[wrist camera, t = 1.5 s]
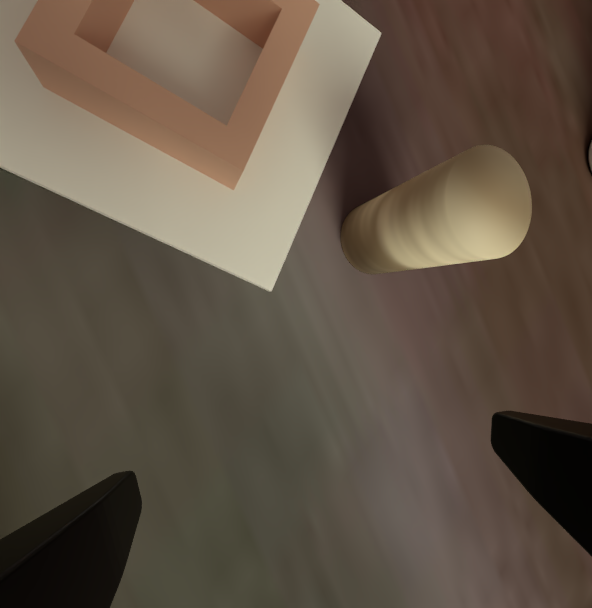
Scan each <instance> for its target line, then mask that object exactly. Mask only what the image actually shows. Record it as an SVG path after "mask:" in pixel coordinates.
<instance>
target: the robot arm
mask: <svg viewBox="0 0 592 608" xmlns="http://www.w3.org/2000/svg"><path fill="white" fill-rule="evenodd" d="M491 444H492V447H493V449H494V451H495V453H496V454H497V455H498V456H499V458H500V459H501V460H502V461H503V462H504V463H505V465H506V466H507V467H508V468H509V469H510V471H511V472H512V473H513V474H514V475H515V477H516V478H517V479H518V480H519V481H520V483H521V484H522V485H523V486H524V487H525V489H526V490H527V491H528V492H529V493H530V494H531V495H532V497H533V498H534V499H535V500H536V501H537V502H538V503H539V504H540V505H541V506H542V507H543V508H544V509H545V510H546V511H547V512H548V513H549V514H550V515H551V516H552V517H553V518H554V519H555V520H556V521H557V522H558V523H559V524H560V525H561V526H562V527H563V528H564V529H565V530H566V531H567V532H568V533H569V534H570V535H571V536H572V537H573V538H574V539H575V540H576V541H577V542H578V543H579V544H580V545H581V546H582V547H583V548H584V549H585V550H586V551H587V552H588V553H589V554H590V555H591V556H592V424H590V423H584V422H577V421H571V420H565V419H559V418H552V417H546V416H540V415H534V414H527V413H521V412H515V411H502V412H496V413H494V414H493V416H492V426H491ZM141 509H142V500H141V495H140V491H139V487H138V483H137V479H136V475H135V473H134V472H133V471H125V472H119V473H115V474H113V475H111V476H110V477H108V478H106V479H104V480H103V481H101V482H99V483H97V484H96V485H94V486H92V487H90V488H89V489H87V490H85V491H84V492H82V493H80V494H78V495H77V496H75V497H73V498H71V499H70V500H68V501H66V502H64V503H63V504H61V505H59V506H58V507H56V508H54V509H52V510H51V511H49V512H47V513H45V514H44V515H42V516H40V517H39V518H37V519H35V520H33V521H32V522H30V523H28V524H26V525H25V526H23V527H21V528H19V529H18V530H16V531H14V532H13V533H11V534H9V535H7V536H6V537H4V538H2V539H0V608H110V606H111V603H112V601H113V598H114V596H115V593H116V591H117V588H118V586H119V583H120V581H121V578H122V575H123V572H124V569H125V566H126V563H127V559H128V556H129V552H130V549H131V545H132V542H133V538H134V535H135V531H136V528H137V524H138V521H139V517H140V514H141Z"/></svg>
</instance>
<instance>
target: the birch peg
mask: <svg viewBox="0 0 592 608" xmlns="http://www.w3.org/2000/svg"><path fill="white" fill-rule="evenodd" d="M531 211H532V201H531V193H530V188H529V185H528V182H527V179H526V177H525V174H524V172H523V170H522V169H521V167H520V166H519V164H518V163H517V162H516V160H515V159H514V158H513V157H512V156H511V155H510V154H508V153H507V152H506V151H504V150H502V149H500V148H498V147H495V146H492V145H479V146H475V147H473V148H470V149H468V150H466V151H464V152H462V153H461V154H459V155H457V156H455V157H453V158H451V159H449V160H447V161H445V162H443V163H441V164H439V165H437V166H435V167H433V168H432V169H430V170H428V171H426V172H424V173H422V174H420V175H418V176H416V177H414V178H412V179H410V180H408V181H406V182H404V183H403V184H401V185H399V186H397V187H395V188H393V189H391V190H389V191H387V192H385V193H383V194H381V195H379V196H377V197H376V198H374V199H372V200H370V201H368V202H366V203H364V204H362V205H360V206H358V207H356V208H355V209H353V210H352V211H351V212H350V213H349V214H348V215H347V217H346V218H345V220H344V222H343V225H342V229H341V246H342V249H343V252H344V255H345V256H346V258H347V260H348V261H349V263H350V264H351V265H352V266H353V267H355V268H356V269H357V270H359V271H361V272H363V273H367V274H381V273H388V272H396V271H404V270H412V269H419V268H427V267H435V266H443V265H450V264H458V263H466V262H473V261H481V260H489V259H496V258H501V257H504V256H506V255H508V254H510V253H511V252H513V251H514V250H515V249H516V248H517V247H518V246H519V245H520V243H521V242H522V241H523V239H524V237H525V235H526V233H527V230H528V228H529V224H530V220H531Z"/></svg>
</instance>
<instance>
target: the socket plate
mask: <svg viewBox="0 0 592 608" xmlns="http://www.w3.org/2000/svg"><path fill="white" fill-rule="evenodd" d="M380 36H381V32H380V31H378V30H377V29H376V28H375V27H373V26H372V25H371V24H370V23H368V22H367V21H366V20H365V19H364V18H362V17H361V16H360V15H359V14H357V13H356V12H355V11H354V10H352V9H351V8H350V7H349V6H347V5H346V4H345V3H344V2H343V1H341V0H0V168H2V169H4V170H6V171H8V172H11V173H13V174H15V175H17V176H19V177H22V178H24V179H26V180H28V181H30V182H32V183H35V184H37V185H39V186H41V187H43V188H45V189H48V190H50V191H52V192H54V193H56V194H58V195H61V196H63V197H65V198H67V199H69V200H71V201H74V202H76V203H78V204H80V205H82V206H84V207H87V208H89V209H91V210H93V211H95V212H98V213H100V214H102V215H104V216H106V217H108V218H111V219H113V220H115V221H117V222H119V223H121V224H124V225H126V226H128V227H130V228H132V229H134V230H137V231H139V232H141V233H143V234H145V235H147V236H150V237H152V238H154V239H156V240H158V241H160V242H163V243H165V244H167V245H169V246H171V247H174V248H176V249H178V250H180V251H182V252H184V253H187V254H189V255H191V256H193V257H195V258H197V259H200V260H202V261H204V262H206V263H208V264H210V265H213V266H215V267H217V268H219V269H221V270H223V271H226V272H228V273H230V274H232V275H234V276H236V277H239V278H241V279H243V280H245V281H247V282H250V283H252V284H254V285H256V286H258V287H260V288H263V289H265V290H267V291H272V289H273V287H274V284H275V282H276V280H277V277H278V275H279V273H280V270H281V268H282V266H283V263H284V261H285V259H286V256H287V254H288V251H289V249H290V247H291V244H292V242H293V240H294V237H295V235H296V233H297V230H298V228H299V226H300V223H301V221H302V219H303V216H304V214H305V212H306V209H307V207H308V205H309V202H310V200H311V198H312V195H313V193H314V190H315V188H316V186H317V183H318V181H319V179H320V176H321V174H322V172H323V169H324V167H325V165H326V162H327V160H328V158H329V155H330V153H331V151H332V148H333V146H334V144H335V141H336V139H337V136H338V134H339V132H340V129H341V127H342V125H343V122H344V120H345V118H346V115H347V113H348V111H349V108H350V106H351V104H352V101H353V99H354V97H355V94H356V92H357V90H358V87H359V85H360V82H361V80H362V78H363V75H364V73H365V71H366V68H367V66H368V64H369V61H370V59H371V57H372V54H373V52H374V50H375V47H376V45H377V43H378V40H379V38H380Z"/></svg>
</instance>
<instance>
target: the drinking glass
mask: <svg viewBox="0 0 592 608" xmlns="http://www.w3.org/2000/svg"><path fill="white" fill-rule="evenodd" d="M589 165H590V168H591V171H592V141H591V143H590V147H589Z"/></svg>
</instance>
